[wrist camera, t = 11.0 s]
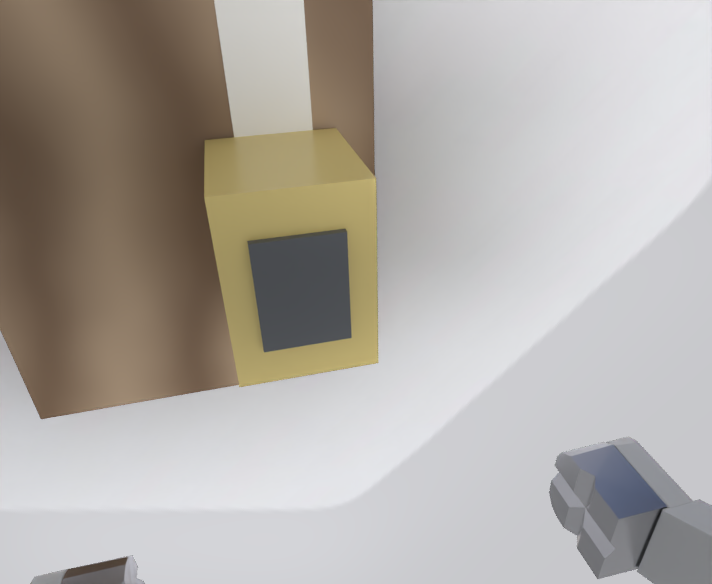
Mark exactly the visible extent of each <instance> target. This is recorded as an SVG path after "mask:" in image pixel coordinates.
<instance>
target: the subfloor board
mask: <svg viewBox="0 0 712 584" xmlns="http://www.w3.org/2000/svg"><path fill="white" fill-rule="evenodd" d="M330 128H336V129H337V130H338V131H339V132H340V134H341V135H342V136H343V137H344V139H345V140H346V141H347V142H348V144H349V145H350V146H351V147H352V149H353V150H354V151H355V152H356V154H357V155H358V156H359V157H360V159H361V160H362V161H363V162H364V164H365V165H366V166H367V167H368V169H369V170H370V171H371V172H372V174H373V175H374V176H375V170H374V88H373V6H372V0H0V330H1V332H2V334H3V337H4V339H5V341H6V343H7V345H8V348H9V350H10V352H11V354H12V356H13V359H14V361H15V363H16V365H17V367H18V370H19V372H20V374H21V376H22V378H23V381H24V383H25V385H26V387H27V389H28V392H29V394H30V396H31V398H32V400H33V402H34V405H35V407H36V409H37V411H38V413H39V416H40V418H41V419H45V418H51V417H56V416H62V415H68V414H74V413H79V412H85V411H91V410H96V409H102V408H108V407H114V406H119V405H125V404H131V403H137V402H142V401H148V400H154V399H160V398H165V397H171V396H177V395H183V394H188V393H194V392H200V391H205V390H211V389H217V388H223V387H228V386H234V385H239V381H238V376H237V371H236V365H235V360H234V355H233V349H232V344H231V339H230V333H229V328H228V322H227V317H226V312H225V306H224V301H223V296H222V290H221V285H220V280H219V274H218V269H217V263H216V258H215V253H214V247H213V242H212V237H211V231H210V226H209V221H208V215H207V210H206V204H205V199H204V153H205V140H211V139H221V138H232V137H243V136H254V135H265V134H276V133H287V132H297V131H308V130H319V129H330ZM323 373H324V372H323ZM306 376H307V375H306ZM283 380H284V379H283Z"/></svg>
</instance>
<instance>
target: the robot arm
mask: <svg viewBox="0 0 712 584" xmlns="http://www.w3.org/2000/svg"><path fill="white" fill-rule="evenodd" d="M555 466H556V468H557V469H558V471H559V473H558V474H557V475H556V476H555V477H554V478H553V480H552V481H551V486H550V491H549V493H550V498H551V504H552V507H553V509H554V512H555V514H556V516H557V518H558V519H559V521H560V522H561V524H562V526H563V527H564V528H565V529H567V530H569V531H570V532H572V533H574V534H575V535H577V549H578V550H579V552H580V553H581V555H582V556H583V558H584V559H585V561H586V562H587V564H588V565H589V567H590V568H591V570H592V571H593V573H594V574H595V576H596V577H597V579H600V578H604V577H608V576H612V575H616V574H619V573H623V572H627V571H631V570H635V569H638V570H637V572H638V573H640V574H641V575H643V576H644V577H645V578H647V579H648V580H649V581H651V582H652V583H654V584H712V505H710V504H708V503H706V502H704V501H702V500H695V501H693V500H692V499H691V498H690V497H689V496H688V495H687V494H686V493H685V492H684V491H683V490H682V489H681V488H680V487H679V485H677V483H676V482H675V481H674V480H673V479H672V478H671V477H670V476H669V475H668V474H667V473H666V472H665V470H663V469H662V467H661V466H660V465H659V464H658V463H657V462H656V461H655V460H654V459H653V458H652V457H651V456H650V454H648V452H647V451H646V450H645V449H644V448H643V447H642V446H641V445H640V444H639V443H638V442H637V441H636V440H634V439H632V438H631V437H625V438H620V439H616V440H613V441H609V442H601V443H598V444H593V445H589V446H585V447H582V448H578V449H574V450H570V451H566V452H562V453H561V454H560V455H559V456H558V457H557V460H556V464H555ZM137 568H138V566H137V564H136V562H135V560H134V558H133V555H130V556H126V557H121V558H117V559H112V560H108V561H103V562H98V563H94V564H90V565H85V566H80V567H76V568H71V569H66V570H61V571H57V572H53V573H48V574H44V575H40V576H36V577H34V579H33V580H32V582H31V584H145V583H144V581H142V580H140V579H137Z"/></svg>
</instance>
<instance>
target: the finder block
mask: <svg viewBox="0 0 712 584" xmlns="http://www.w3.org/2000/svg"><path fill="white" fill-rule="evenodd" d="M204 199H205V204H206V210H207V215H208V221H209V226H210V231H211V237H212V242H213V247H214V253H215V258H216V263H217V269H218V274H219V280H220V285H221V290H222V296H223V301H224V306H225V312H226V317H227V322H228V328H229V333H230V339H231V344H232V349H233V355H234V360H235V365H236V371H237V376H238V381H239V387H243V386H249V385H255V384H261V383H266V382H272V381H278V380H283V379H289V378H295V377H301V376H306V375H312V374H318V373H323V372H329V371H335V370H340V369H346V368H352V367H358V366H363V365H369V364H375V363H378V297H377V203H376V177H375V176H374V175H373V174H372V172H371V171H370V170H369V169H368V167H367V166H366V165H365V164H364V162H363V161H362V160H361V159H360V157H359V156H358V155H357V154H356V152H355V151H354V150H353V149H352V147H351V146H350V145H349V144H348V142H347V141H346V140H345V139H344V137H343V136H342V135H341V134H340V132H339V131H338V130H337V129H336V128H330V129H319V130H308V131H297V132H287V133H276V134H265V135H254V136H243V137H232V138H221V139H211V140H205V153H204Z"/></svg>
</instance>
